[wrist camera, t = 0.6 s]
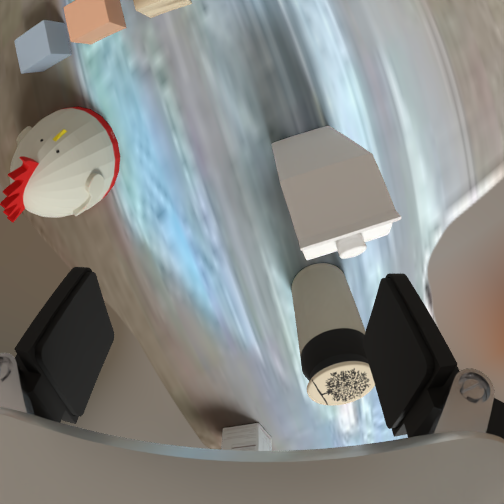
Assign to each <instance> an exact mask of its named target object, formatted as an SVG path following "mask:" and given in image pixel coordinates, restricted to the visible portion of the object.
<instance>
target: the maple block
mask: <svg viewBox="0 0 504 504" xmlns="http://www.w3.org/2000/svg"><path fill="white" fill-rule="evenodd" d="M133 1H134V5H135V9H136V11H138V12H140V13H142V14H144V15H146V16H148V17H150V18H152V17H154V16H157V15H160V14H162V13H165V12H168V11H171V10H174V9H177V8H180V7H183V6H186V5H190V4H192V2H191V0H133Z"/></svg>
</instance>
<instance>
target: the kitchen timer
mask: <svg viewBox="0 0 504 504" xmlns="http://www.w3.org/2000/svg"><path fill="white" fill-rule="evenodd" d="M17 143H18V145H17V149H16V152H15V154H14V156H13V159H12V162H11V169H10V173H9V174H8V176H9V177H10V185H9V186H8V187H7V188H6V189H5V190H4V191H3V193H4V194H5V195H7V197H6V198H5V199H4V200H3V201H2V202H1V203H0V205H1V206H2V207H4V208H5V210H4V213H5V214H6V215H7V216H8V217H7V218H8V219H9V220H10V221H11V222H14V221H15V220H16V218H17V217H18V216H19V215H20V214H21V213H22V211H23V210H24V209H26V210H28V211H29V212H31V213H34V214H37V215H39V216H43V217H64V216H68V215H72V214H74V215H75V216H77V215H79V214H80V213H82V212H83V211H85V210H87V209H89V208H91V207H92V206H93V205H95V204H96V203H98V202H99V201H100V200H102V199H103V198H104V197H105V196H106V195H107V194H108V192H109V191H110V190H111V188H112V187H113V186H114V184H115V181H116V178H117V175H118V172H119V164H120V153H119V147H118V142H117V139H116V137H115V135H114V133H113V130H112V128H111V127H110V126H109V124H108V123H107V122H106V121H105V120H104V118H103V117H102V116H100V115H99V114H97V113H95V112H94V111H92V110H91V109H87V108H82V107H70V108H64V109H60V110H58V111H55V112H54V113H52V114H50V115H48V116H46V117H44V118H43V119H41V120H40V121H39V122H38V123H37V124H36V125H35V126H34V127H33V128H32V127H31V126H28V127H26V128H25V129H24V130H23V131H22V132H21V133H20V134H19V136H18V137H17Z"/></svg>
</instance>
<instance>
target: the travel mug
mask: <svg viewBox="0 0 504 504" xmlns="http://www.w3.org/2000/svg"><path fill="white" fill-rule="evenodd" d="M292 297H293V304H294V311H295V318H296V326H297V333H298V341H299V349H300V356H301V364H302V371H303V374H304V375H305V377H306V378H307V379H308V380H309V383H308V386H307V393H308V395H309V397H310V398H311V399H312V400H313V401H315V402H317V403H319V404H323V405H342V404H346V403H350V402H353V401H355V400H358V399H360V398H361V397H363V396H365V395H366V394H367V393H369V392H370V391H371V390H372V388H373V387H374V386H375V383H374V380H373V376H372V373H371V370H370V367H369V363H368V360H367V357H366V354H365V351H364V347H363V339H364V335H365V329H364V326H363V323H362V320H361V318H360V315H359V312H358V309H357V307H356V304H355V301H354V299H353V296H352V293H351V291H350V288H349V285H348V283H347V280H346V278H345V275H344V273H343V272H342V271H341V270H340V269H339V268H338V267H336V266H334V265H332V264H328V263H317V264H313V265H310V266H308V267H306V268H304V269H303V270H301V271H300V272H299V273H298V274H297V275H296V277H295V278H294V280H293V283H292Z"/></svg>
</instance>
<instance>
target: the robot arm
mask: <svg viewBox="0 0 504 504" xmlns="http://www.w3.org/2000/svg"><path fill="white" fill-rule="evenodd" d="M113 340H114V331H113V328H112V325H111V322H110V319H109V316H108V313H107V310H106V307H105V303H104V300H103V297H102V294H101V290H100V287H99V283H98V280H97V276H96V274H95V273H94V272H92V270H91V269H90V268H86V267H74V268H73V269H72V270H71V271H70V272H69V273H68V275H67V276H66V277H65V278H64V280H63V281H62V282H61V284H60V285H59V286H58V288H57V289H56V290H55V292H54V293H53V294H52V296H51V297H50V298H49V300H48V301H47V302H46V304H45V305H44V307H43V308H42V309H41V311H40V312H39V314H38V315H37V316H36V318H35V319H34V321H33V322H32V323H31V325H30V327H29V328H28V329H27V331H26V332H25V334H24V335H23V337H22V338H21V340H20V341H19V343H18V344H17V346H16V347H15V350H16V352H17V355H16V357H15V358H14V357H13V356H12V355H11V354H8V353H0V504H504V403H503V402H501V401H499V400H497V399H495V398H494V387H493V384H492V382H491V380H490V379H489V378H488V377H487V376H486V375H485V374H484V373H482V372H481V371H478V370H476V369H464V370H461V371H459V369H458V367H457V362H456V361H455V359H454V357H453V355H452V353H451V351H450V349H449V347H448V345H447V344H446V342H445V340H444V338H443V336H442V335H441V333H440V331H439V329H438V327H437V326H436V324H435V322H434V320H433V319H432V317H431V315H430V314H429V312H428V310H427V308H426V307H425V305H424V303H423V302H422V300H421V299H420V297H419V295H418V294H417V292H416V290H415V289H414V287H413V286H412V284H411V282H410V281H409V279H408V278H407V276H406V275H405V274H387V276H386V278H382V279H381V282H380V285H379V289H378V292H377V296H376V299H375V303H374V306H373V309H372V313H371V316H370V319H369V323H368V326H367V329H366V332H365V335H364V339H363V347H364V351H365V354H366V357H367V360H368V363H369V367H370V370H371V373H372V376H373V380H374V383H375V386H376V390H377V393H378V397H379V400H380V404H381V407H382V411H383V414H384V418H385V422H386V425H387V427H388V428H389V429H390V428H392V431H393V435H394V436H400V435H405V434H407V435H408V438H404V439H399V440H393V441H386V442H379V443H372V444H364V445H356V446H348V447H338V448H327V449H313V450H293V451H237V450H217V449H203V448H192V447H182V446H173V445H165V444H158V443H152V442H144V441H139V440H133V439H127V438H122V437H117V436H112V435H108V434H103V433H99V432H94V431H90V430H86V429H82V428H78V427H74V426H70V425H66V424H62V423H60V422H61V419H62V420H64V421H67V422H71V423H74V424H76V422H77V420H78V417H79V416H81V415H83V413H84V410H85V408H86V405H87V403H88V400H89V398H90V395H91V393H92V390H93V388H94V385H95V383H96V380H97V378H98V375H99V373H100V371H101V368H102V366H103V364H104V361H105V359H106V357H107V354H108V352H109V349H110V347H111V345H112V343H113Z"/></svg>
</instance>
